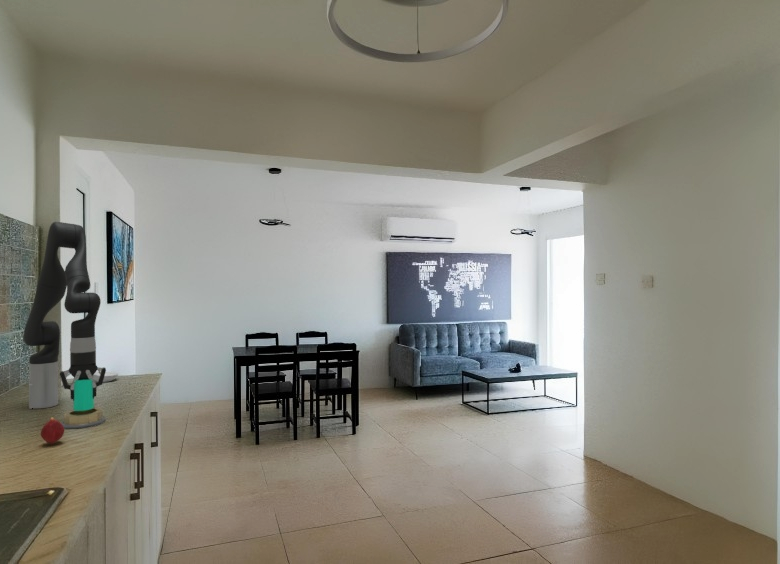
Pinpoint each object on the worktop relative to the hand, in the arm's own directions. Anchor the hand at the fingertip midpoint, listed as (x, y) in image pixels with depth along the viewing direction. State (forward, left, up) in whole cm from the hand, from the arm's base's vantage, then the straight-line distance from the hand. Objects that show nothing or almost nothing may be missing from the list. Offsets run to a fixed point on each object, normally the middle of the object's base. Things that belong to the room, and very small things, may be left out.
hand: (83, 399), depth 169 cm
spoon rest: (+3, +77, -9) cm, 78 cm away
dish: (0, 0, -8) cm, 8 cm away
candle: (0, 0, -4) cm, 4 cm away
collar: (0, 0, -8) cm, 8 cm away
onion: (-8, -20, -9) cm, 23 cm away
